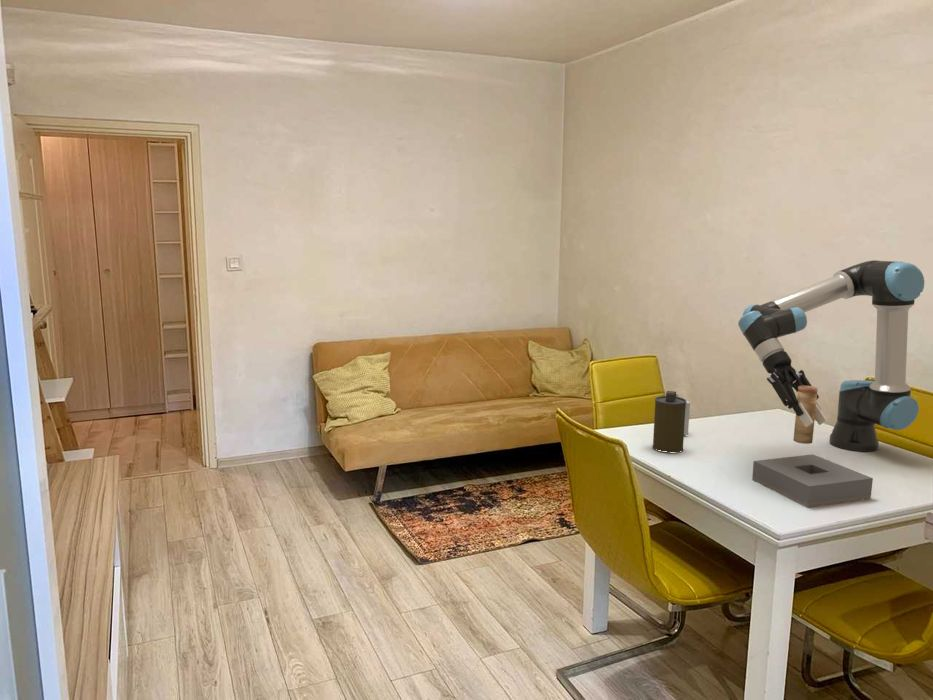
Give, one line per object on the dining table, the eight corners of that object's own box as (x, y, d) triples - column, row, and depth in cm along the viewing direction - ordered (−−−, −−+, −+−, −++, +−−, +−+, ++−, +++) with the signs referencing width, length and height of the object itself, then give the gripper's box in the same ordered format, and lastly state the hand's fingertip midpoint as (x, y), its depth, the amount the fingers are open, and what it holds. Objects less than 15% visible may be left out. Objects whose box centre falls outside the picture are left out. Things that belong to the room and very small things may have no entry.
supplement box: (688, 436, 257) (690, 402, 255) (668, 436, 257) (669, 402, 255) (682, 430, 265) (684, 397, 262) (662, 430, 265) (664, 397, 263)
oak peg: (803, 437, 209) (808, 385, 206) (816, 442, 204) (821, 388, 202) (789, 439, 208) (794, 386, 205) (802, 444, 203) (807, 390, 200)
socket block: (811, 472, 220) (813, 454, 219) (870, 498, 199) (872, 478, 198) (752, 479, 213) (753, 460, 212) (807, 507, 193) (809, 486, 192)
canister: (681, 455, 236) (685, 396, 233) (650, 451, 240) (653, 393, 237) (685, 446, 246) (688, 389, 243) (654, 442, 250) (657, 387, 247)
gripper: (786, 361, 220) (828, 426, 208) (744, 366, 212) (785, 434, 200) (802, 347, 214) (846, 413, 203) (759, 351, 206) (803, 420, 195)
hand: (816, 423), depth 202 cm, fingers closed on oak peg, 5 cm apart
